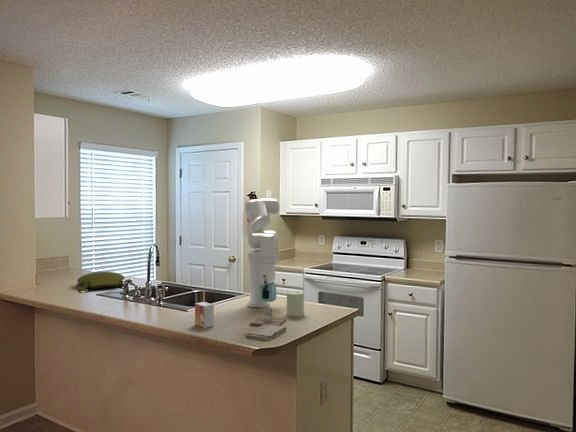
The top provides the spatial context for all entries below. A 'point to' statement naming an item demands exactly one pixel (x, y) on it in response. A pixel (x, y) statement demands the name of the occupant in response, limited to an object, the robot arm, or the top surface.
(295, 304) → the can
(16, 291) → the top surface
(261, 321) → the post board
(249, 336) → the washcloth
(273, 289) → the teal block
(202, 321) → the small box
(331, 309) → the top surface
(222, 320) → the top surface
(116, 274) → the green cushion
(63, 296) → the top surface
